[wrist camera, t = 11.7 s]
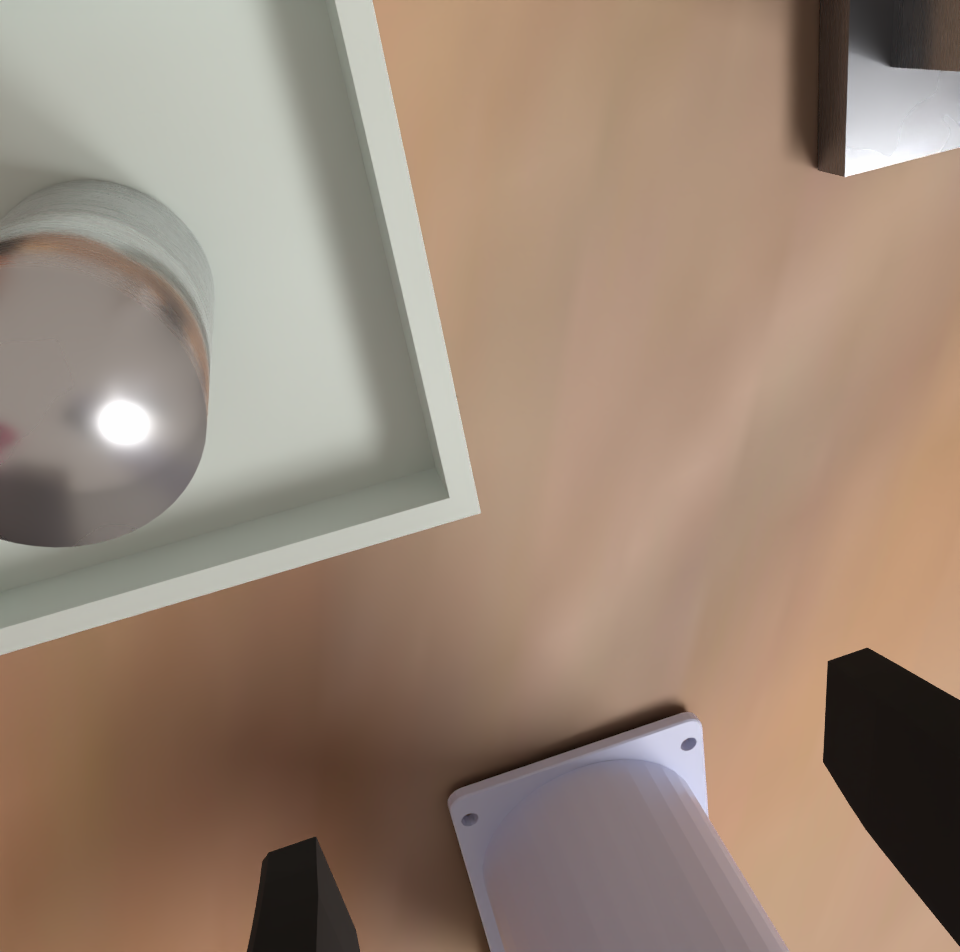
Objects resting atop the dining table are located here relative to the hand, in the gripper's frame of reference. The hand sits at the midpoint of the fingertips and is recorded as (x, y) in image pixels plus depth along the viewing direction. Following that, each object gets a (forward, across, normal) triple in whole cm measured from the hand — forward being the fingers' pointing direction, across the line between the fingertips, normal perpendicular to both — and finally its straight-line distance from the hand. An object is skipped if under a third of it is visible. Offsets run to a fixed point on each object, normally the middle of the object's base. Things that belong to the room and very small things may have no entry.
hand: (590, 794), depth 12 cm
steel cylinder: (+10, +5, -6) cm, 13 cm away
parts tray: (+10, +5, -5) cm, 13 cm away
